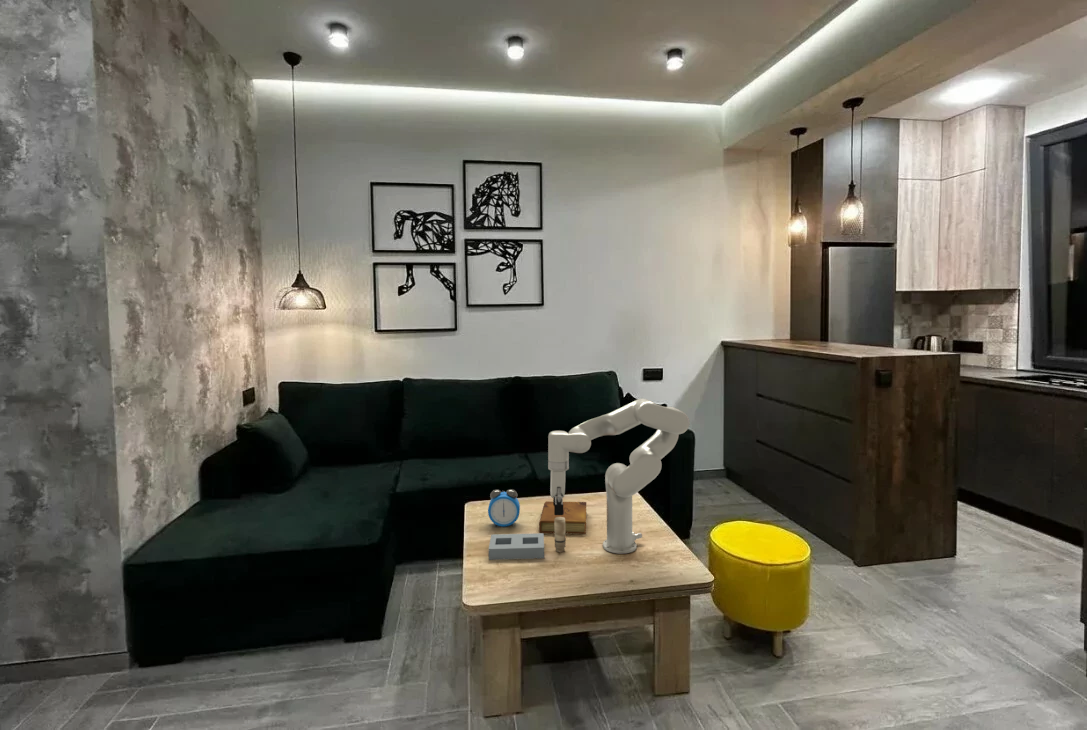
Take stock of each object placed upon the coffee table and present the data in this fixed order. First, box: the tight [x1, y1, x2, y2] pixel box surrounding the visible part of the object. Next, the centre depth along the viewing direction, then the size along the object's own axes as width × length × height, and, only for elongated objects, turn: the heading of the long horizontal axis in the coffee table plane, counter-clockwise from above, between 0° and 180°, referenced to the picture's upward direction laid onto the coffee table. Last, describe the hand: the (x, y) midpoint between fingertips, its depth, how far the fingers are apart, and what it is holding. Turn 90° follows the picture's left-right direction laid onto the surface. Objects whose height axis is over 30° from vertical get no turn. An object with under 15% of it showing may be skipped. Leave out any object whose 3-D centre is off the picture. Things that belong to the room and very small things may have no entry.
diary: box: [538, 500, 588, 535], centre depth 229 cm, size 23×19×6 cm
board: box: [488, 532, 545, 561], centre depth 202 cm, size 20×13×4 cm, turn 91°
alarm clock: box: [487, 488, 521, 528], centre depth 228 cm, size 13×6×15 cm, turn 91°
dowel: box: [554, 517, 567, 553], centre depth 202 cm, size 4×4×12 cm
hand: (558, 510), depth 201 cm, fingers open, 9 cm apart
